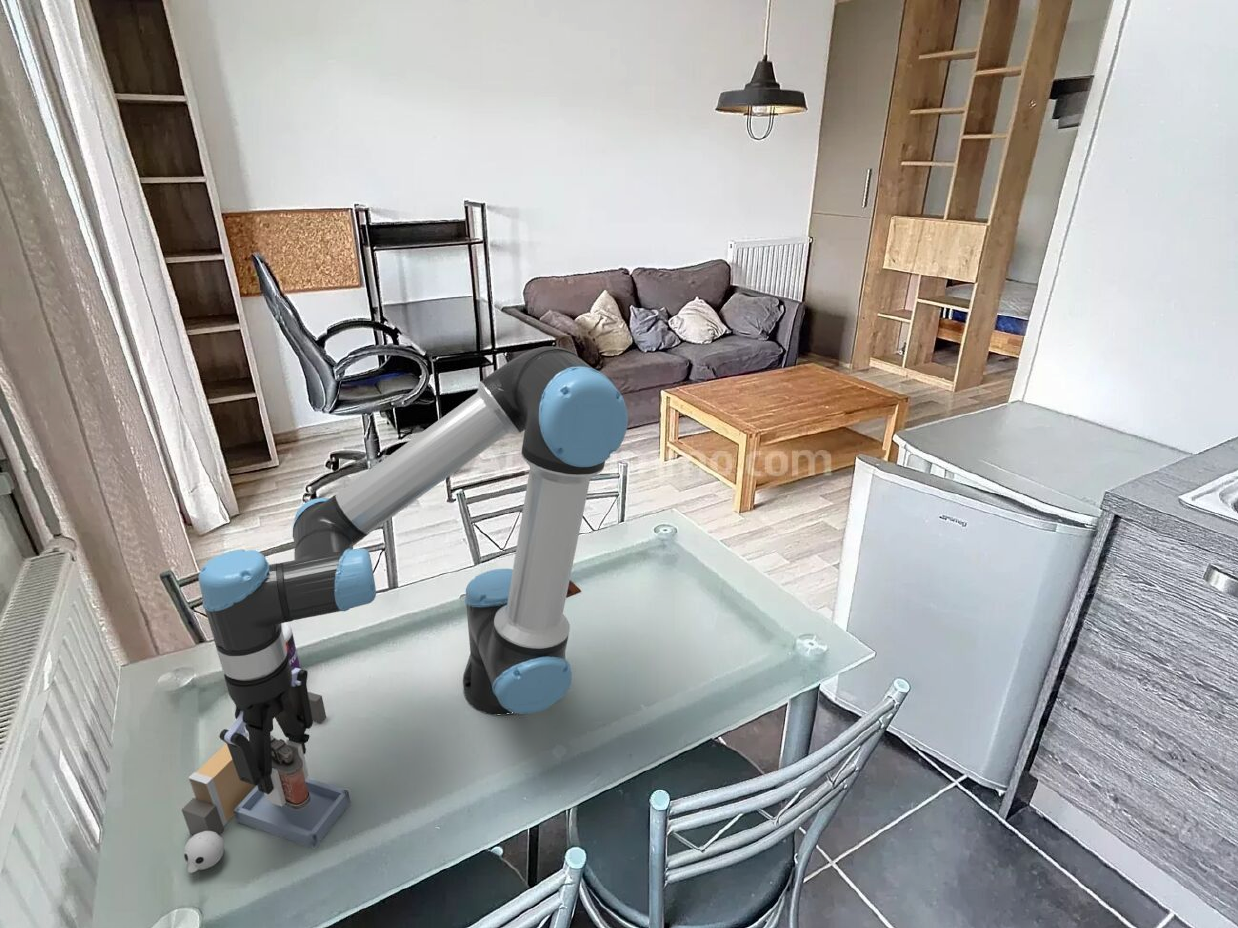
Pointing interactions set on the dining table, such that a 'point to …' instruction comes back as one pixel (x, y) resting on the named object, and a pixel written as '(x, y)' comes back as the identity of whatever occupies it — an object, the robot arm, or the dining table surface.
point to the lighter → (290, 774)
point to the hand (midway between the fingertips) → (287, 787)
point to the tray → (295, 813)
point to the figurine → (203, 850)
